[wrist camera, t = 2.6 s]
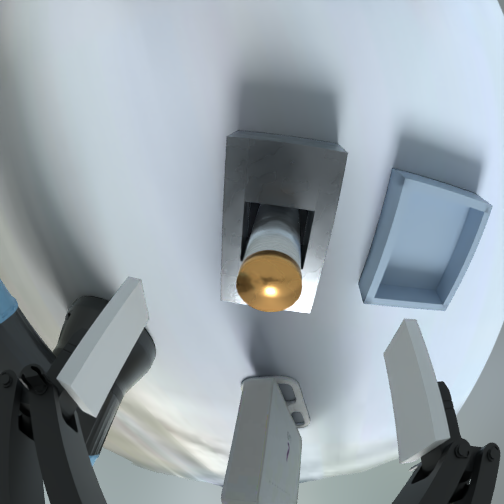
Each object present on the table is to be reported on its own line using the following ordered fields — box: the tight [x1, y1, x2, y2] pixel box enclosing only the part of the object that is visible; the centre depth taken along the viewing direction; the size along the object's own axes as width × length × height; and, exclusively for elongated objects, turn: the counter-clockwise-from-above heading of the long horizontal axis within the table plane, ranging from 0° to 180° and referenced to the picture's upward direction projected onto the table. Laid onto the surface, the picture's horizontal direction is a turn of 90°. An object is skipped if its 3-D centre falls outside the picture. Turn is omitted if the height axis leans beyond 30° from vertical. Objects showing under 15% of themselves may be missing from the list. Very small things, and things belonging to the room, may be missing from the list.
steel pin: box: [236, 204, 302, 312], centre depth 20 cm, size 4×4×10 cm
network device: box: [221, 376, 310, 504], centre depth 32 cm, size 26×9×20 cm, turn 17°
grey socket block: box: [221, 130, 348, 313], centre depth 22 cm, size 14×8×4 cm, turn 176°
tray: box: [358, 168, 492, 311], centre depth 22 cm, size 12×10×3 cm
